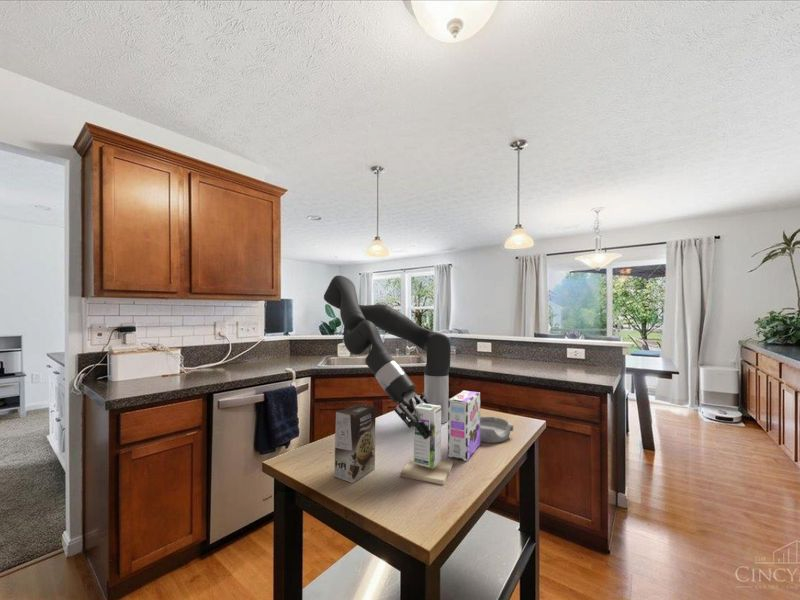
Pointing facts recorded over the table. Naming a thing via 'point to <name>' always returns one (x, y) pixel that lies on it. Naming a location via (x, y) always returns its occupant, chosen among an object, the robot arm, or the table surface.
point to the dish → (494, 429)
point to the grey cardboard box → (354, 442)
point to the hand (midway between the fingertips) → (433, 432)
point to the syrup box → (430, 448)
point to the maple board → (428, 471)
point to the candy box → (463, 425)
